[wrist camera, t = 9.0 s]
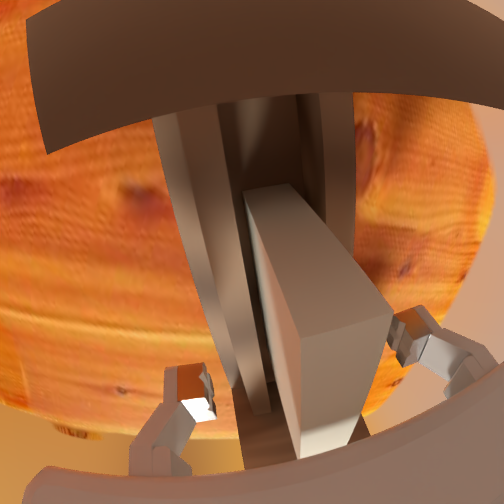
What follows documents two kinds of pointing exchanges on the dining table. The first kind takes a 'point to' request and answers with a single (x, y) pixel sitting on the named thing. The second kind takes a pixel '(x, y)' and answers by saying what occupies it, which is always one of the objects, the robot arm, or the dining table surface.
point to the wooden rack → (251, 126)
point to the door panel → (314, 318)
